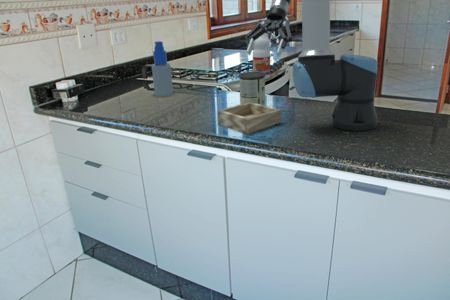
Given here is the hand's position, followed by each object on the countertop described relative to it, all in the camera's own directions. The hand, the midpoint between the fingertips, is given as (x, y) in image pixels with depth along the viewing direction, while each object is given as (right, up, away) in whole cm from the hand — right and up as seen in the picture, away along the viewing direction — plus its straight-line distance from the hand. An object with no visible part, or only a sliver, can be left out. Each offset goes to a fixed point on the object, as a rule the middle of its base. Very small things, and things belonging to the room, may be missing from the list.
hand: (263, 53), depth 154 cm
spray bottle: (-45, -12, +29) cm, 56 cm away
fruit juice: (+5, 0, +54) cm, 54 cm away
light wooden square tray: (-7, -30, -19) cm, 36 cm away
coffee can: (-4, -23, -1) cm, 23 cm away
